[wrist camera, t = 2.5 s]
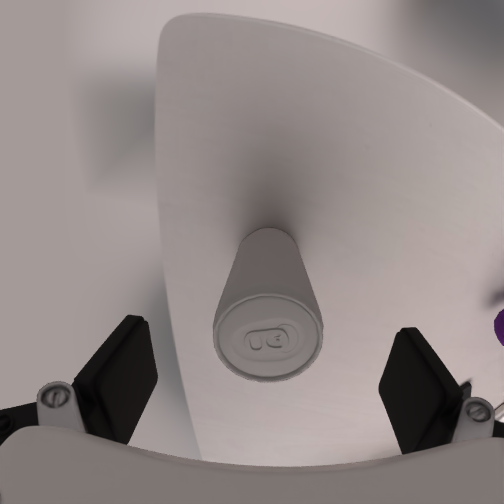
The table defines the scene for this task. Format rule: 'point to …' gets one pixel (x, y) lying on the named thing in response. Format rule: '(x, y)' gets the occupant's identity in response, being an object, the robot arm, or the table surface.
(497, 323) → the mug
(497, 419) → the toy car
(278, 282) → the beverage can
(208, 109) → the table surface
